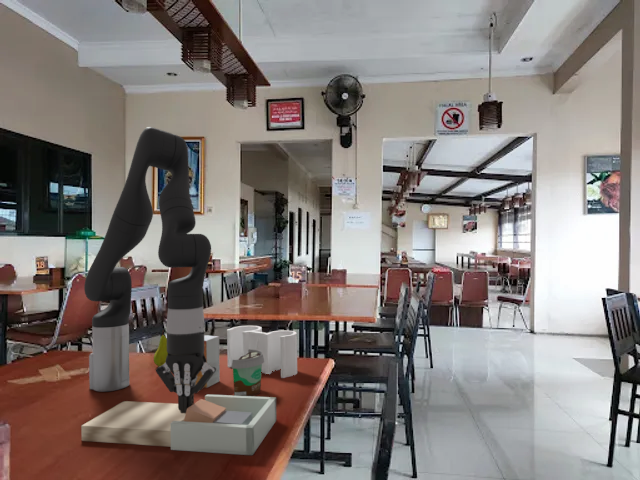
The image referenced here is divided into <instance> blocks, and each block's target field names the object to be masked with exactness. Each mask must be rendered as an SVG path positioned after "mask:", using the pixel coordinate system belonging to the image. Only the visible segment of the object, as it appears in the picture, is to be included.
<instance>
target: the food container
mask: <svg viewBox="0 0 640 480" xmlns="http://www.w3.org/2000/svg"><path fill="white" fill-rule="evenodd" d="M262 363H264V357H263V354H262V352H261V351H258V350H250V349H248V354H246V355H244V356H241V357H240V358H239V359H238V360H233V361H232V367H231V369H232V375H233V377H232V378H233V380H232V381H233V393H234V395H233V396H255V397H257V395H259V394H260V393H261V384H262V373H261V371H262Z"/></svg>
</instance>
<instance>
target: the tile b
mask: <svg viewBox="0 0 640 480" xmlns="http://www.w3.org/2000/svg"><path fill="white" fill-rule="evenodd" d="M251 421H252V413H251V412H237V411H225V412H224V413H222V414H221V415H220V416H219V417H218V418H217V419H216V420H214V421H213V423H221V424H239V425H248V424H249V423H250V422H251Z"/></svg>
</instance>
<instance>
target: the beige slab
mask: <svg viewBox="0 0 640 480" xmlns="http://www.w3.org/2000/svg"><path fill="white" fill-rule="evenodd" d="M185 415H186V413H181V412H180V410H179V409H178V403H172V402H151V401H150V402H147V401H128V400H126V401H125V400H124V401H122V402H120V403H118V404H116V405H115V406H113V407H111V408H110V409H108V410H106V411H104V412H103V413H100V414H98V415H97V416H95V417H94V418H93V419H92V418H91V420H89V421H87V422H86V423H85V422H84V424H81V426H80V427H81V429H80V430H81V441H82V442H97V443H108V444H109V443H111V444H112V443H113V444H126V445H141V446H155V447H170V448H171V423H172V422H173V421H184V418H185Z"/></svg>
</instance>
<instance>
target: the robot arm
mask: <svg viewBox="0 0 640 480" xmlns="http://www.w3.org/2000/svg"><path fill="white" fill-rule="evenodd" d="M188 150H189V149H188V145H187V143H186V141H185V139H184V138H183V137H181V136H180V135H177V134H175V133H172V132H168V131H165V130H162V129H159V128H156V127H154V126H147V127H145V128H144V129H143V130H142V132H141V133H140V135H139V137H138V140H137V143H136V146H135V149H134V152H133V157H132V160H131V163H130V167H129V170H128V174H127V177H126V180H125V183H124V186H123V188H122V191H121V193H120V196H119V199H118V201H117V203H116V206H115V207H114V210H113V214H112V216H111V218H110V221H109V225H108V227H107V230H106V233H105V236H104V239H103V241H102V243H101V246H100V247H99V250H98V252H97V254H96V255H95V258H94V259H93V261H92V264H91V265H90V267H89V269H88V272H87V273H86V278H85V280H84V285H83V286H84V294H85V296H86V298H87V299H88V300H90V301H92V302H108V301H109V304H108V306H106V307H105V308H104V309H103V310H101V311H99V312H98V313H96V314H94V315H93V316H92V319H91V323H92V324H91V326H92V327H91V329H92V334H91V335H92V353H89V356H88V364H89V365H88V367H89V368H88V370H89V376H88V378H89V390H93V391H95V392H113V391H118V390H121V389H124V388H127V387H128V386H130V326H129V325H130V322H129V321H130V316H131V312H132V311H131V310H132V290H133V289H132V286H133V285H132V284H133V283H132V282H133V281H132V276H131V273H130V272H129V270H128V268H126V267H124V266H117V265H118V263H119V262H120V261H121V260H122V259H123V258H124V257H125V256H126V255H128V254H129V253H130V252H131V251H132V250H133V249H135V248H136V247H137V246H138V245H139V244H140V243H142V241H143V240H144V238H145V237H146V235H147V232H148V230H149V227H150V225H151V223H152V220H153V218H154V211H153V207H152V202H151V199H150V196H149V192H148V188H147V183H146V178H147V173H148V169H149V167H153V168H155V169H160V170H164V171H168V172H170V174H171V176H172V177H171V179H169V181H168V183H167V184H166V185H165V186H164V188H163V189H162V190H161V192H160V195H159V199H158V206H159V214H160V221H161V229H162V230H161V237H160V240H159V245H158V250H157V251H158V252H157V255H158V259H159V262H160V263H161V264H162V265H163V266H165V267H166V268H172V269H173V268H191V270H190V272H189V274H188V275H186V276H182V277H180V278H177V279H173V280H170V281H169V282H168V284H167V314H166V338H167V352H168V355H167V358H166V363H164V364H163V365H162V366H160V367H159V366H157V367H156V368H155V373H156V374H157V375H158V377H159V378H160V380H161V381H162V383H163V384H164V385H165V387H166V388H167V390H168V391H169V392H170V393H175V394H176V395H177V404H178V409H179V410H180V412H181V413H186V411H187V408H189V407H190V406H191V405H193V404H194V403H195V394H198V393H199V391H200V392H201V390H203V389H204V388H205V387H204V386H205V385H206V383H207V382H208V381H209V379H210V378H211V377H212V375H213V374H214V373H215V371H216V368H215V367H211V366H209V365H208V364H207V363H206V358H205V356H204V335H205V327H206V326H205V314H204V300H203V299H204V298H203V297H204V295H203V294H204V290H203V288H204V282H205V277H206V272H207V269H208V265H209V262H210V258H211V254H212V244H211V242H210V240H209V238H208V237H207V236H206V235H205V234H202V233H191V232H192V231H193V230H194V229H195V227H196V217H195V212H194V208H193V204H192V200H191V195H190V194H191V193H190V170H189V167H190V165H189V152H188ZM202 368H203V370H202V375H203V376H202V377H201V379H200V380H199V381H198V383H197V384H196V380H197V375H198V374H199V372H200V371H201V369H202Z"/></svg>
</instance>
